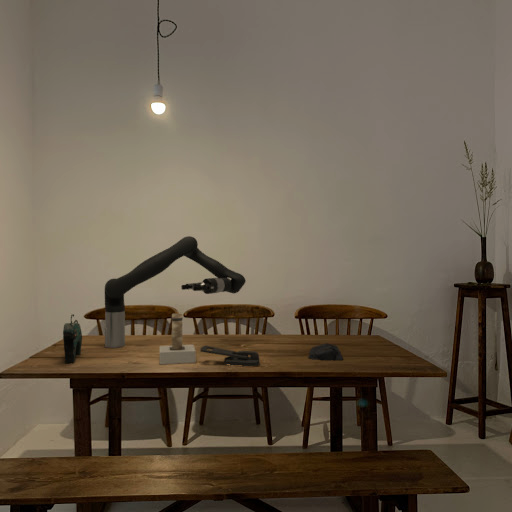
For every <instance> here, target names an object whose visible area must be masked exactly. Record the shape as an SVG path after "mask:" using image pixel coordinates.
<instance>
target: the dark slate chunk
mask: <svg viewBox="0 0 512 512" xmlns="http://www.w3.org/2000/svg"><path fill="white" fill-rule="evenodd" d="M308 359H309V360H311V361H312V360H314V361H315V360H318V361H319V360H320V361H331V360H333V361H343V359H344V356H342V354H341V351H340V349H339V347H338V346H337V345H335V344H331V343H322V344H320V345H319V344H318V345H315V346H313V347H312V348H311V349H310V350H309V352H308Z"/></svg>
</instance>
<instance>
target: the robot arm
mask: <svg viewBox="0 0 512 512" xmlns="http://www.w3.org/2000/svg"><path fill="white" fill-rule="evenodd" d="M198 244H199V243H198V240H197V239H196V237H194V236H188V235H187V236H185V237H183V238H181V239H180V240H179V241H177V242H176V243H174V244H173V245H171V246H170V247H168V248H166V249H164V250H162V251H160V252H159V253H155V254H154V255H153V256H151V257H149V258H147V259H145V260H144V261H142V262H141V263H139V264H138V265H137V266H136V267H134V268H133V269H132V270H130V271H129V272H128V273H125V274H123V275H122V276H120V277H117V278H114V277H113V278H110V279H108V280H107V281H106V283H105V284H104V285H105V286H104V308H105V309H104V310H105V313H104V315H105V317H104V319H105V321H104V323H105V326H104V327H105V328H104V348H108V349H109V348H111V349H113V348H116V349H117V348H122V347H125V346H126V329H125V328H126V327H125V326H126V320H125V319H126V313H125V312H126V308H125V307H126V306H125V294H126V293H128V292H129V291H130V290H132V289H134V288H135V287H137V286H138V285H140V284H142V283H145V282H147V281H148V280H151V279H152V278H154V277H156V276H157V275H159V274H162V272H164V271H166V269H168V268H169V267H170V266H171V265H172V264H173V263H175V262H176V261H177V260H178V259H181V258H182V257H186V258H188V259H190V260H192V261H193V262H194V263H196V264H198V265H199V266H201V267H203V268H205V270H207V271H208V272H209V273H210V274H212V275H213V276H215V277H211V278H204V279H203V280H202V281H201V282H200V281H199V282H192V283H185V284H182V285H181V290H182V291H184V290H192V291H194V292H198V291H201V292H203V293H204V294H206V295H210V294H211V295H212V294H219V293H225V292H226V293H230V294H237V293H238V292H240V291H241V289H242V288H243V287H244V286H245V284H246V282H247V281H246V278H245V276H244V275H243V274H241V273H239V272H236V271H234V270H231V269H230V268H228V267H227V266H225V265H224V264H223V263H221V262H220V261H218V260H216V259H215V258H213V257H210V256H208V255H206V253H204V252H202V251H201V249H199V247H198Z"/></svg>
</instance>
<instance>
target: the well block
mask: <svg viewBox="0 0 512 512" xmlns="http://www.w3.org/2000/svg"><path fill="white" fill-rule="evenodd" d="M182 347H183V350H172V344H171V345H159V365H175V364H178V363H180V364H195V363H197V362H196V360H197V359H196V357H197V356H196V355H197V354H196V351H197V350H196V348H195V344H182ZM178 365H179V364H178Z"/></svg>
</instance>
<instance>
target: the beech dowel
mask: <svg viewBox="0 0 512 512" xmlns="http://www.w3.org/2000/svg"><path fill="white" fill-rule="evenodd" d="M183 317H184V316H183V313H181V312H180V313H179V312H177V313H172V314H171V345H172V350H183V347H182V345H183V321H184V320H183Z"/></svg>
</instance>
